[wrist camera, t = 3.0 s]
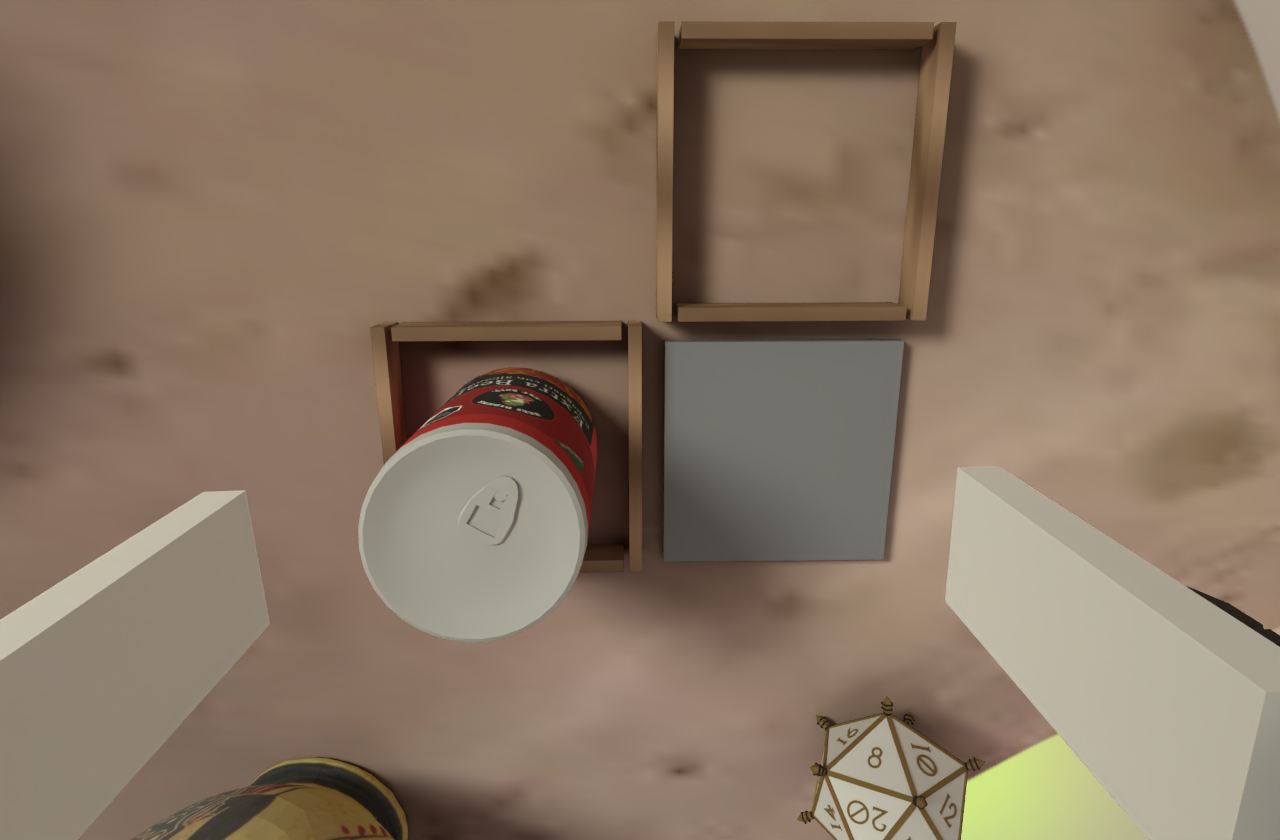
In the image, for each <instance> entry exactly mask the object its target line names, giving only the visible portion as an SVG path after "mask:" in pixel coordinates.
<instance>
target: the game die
mask: <svg viewBox="0 0 1280 840" xmlns="http://www.w3.org/2000/svg"><path fill="white" fill-rule="evenodd" d="M881 704H882V707H881V708H882V709H883V711H884V713H880V714H876V715H872V716H868V717H864V718H861V719H857V720H853V721H849V722H845V723H841V724H837V725H833V726H830V725H829V723H828V720H826V719H825V717H820V716H816V717H817V722H818V723H817V724H818V725H820V726H821V728H824V729H825V730H826V733H825V738H824V744H823V750H822V755H821V761H820V764H819V765H818V764H817V763H815V765H813V766H811V767H810V768H811V770H812V772H813V775H817V776H818V778H817V783H816V789H815V795H814V800H813V806H812V811H811V812H808V811H805V812H801V814H800V816H799V817H798V819H797V820H799V821H802V822H805V824H806V823H807V822H811V820H812V819H815V820H816V821H817V822H818V823H819V824H820V825H821V826H822V827H823V828H824V829H825V830H826V831H827V832H828V833H829V834H830V835H831V837H832V838H833V839H834V840H961V831H962V822H963V813H964V803H965V794H966V793H965V792H966V784H967V775H968V770H974V771H975V770H976V769H979V770H980V767H981V766H982V765H983V763H984V762H985V761H982V760H979V759H975V757H974V759H972V760H970V759H969V761H968V762H967V763H964V762H962V761H961V760H959V759H958V758H956V757H955V756H953V755H952V754H950V753H949V752H947V751H946V750H945V749H943V748H942V747H940V746H939V745H937V744H936V743H934V742H933V741H931V740H930V739H929V738H927V737H926V736H924V735H923V734H921V733H920V732H918V731H917V730H915V729H914V728H913V727H911V725H913V721H915V720H914V718H913V717H912V714H911V712H910V713H908V714H905V716H904V720H903V721H902V720H900V719H899V718H897V717H896V716H894V715H893V714H891V711H892V706H893V703H892V702H891V701H890V699H889V697H888V696H887V697H886V698H885V700H884V701H883V702H881Z"/></svg>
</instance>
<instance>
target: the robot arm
mask: <svg viewBox="0 0 1280 840" xmlns="http://www.w3.org/2000/svg"><path fill="white" fill-rule="evenodd" d="M945 601H946V603H947V604H948V605H949V606H950V607H951V608H952V610H953V611H954V612H955V613H956V614H957V616H958V617H959V618H960V619H961V620H962V621H963V623H964V624H965V625H966V626H967V627H968V628H969V630H970V631H971V632H972V633H973V634H974V635H975V637H976V638H977V639H978V640H979V641H980V643H981V644H982V645H983V646H984V647H985V648H986V650H987V651H988V652H989V653H990V654H991V655H992V657H993V658H994V659H995V660H996V661H997V663H998V664H999V665H1000V666H1001V667H1002V668H1003V670H1004V671H1005V672H1006V673H1007V674H1008V675H1009V677H1010V678H1011V679H1012V680H1013V681H1014V682H1015V684H1016V685H1017V686H1018V687H1019V688H1020V690H1021V691H1022V692H1023V693H1024V694H1025V695H1026V697H1027V698H1028V699H1029V700H1030V701H1031V702H1032V704H1033V705H1034V706H1035V707H1036V708H1037V709H1038V711H1039V712H1040V713H1041V714H1042V715H1043V717H1044V718H1045V719H1046V720H1047V721H1048V722H1049V724H1050V725H1051V726H1052V727H1053V728H1054V729H1055V731H1056V732H1057V733H1058V734H1059V735H1060V737H1061V738H1062V739H1063V740H1064V741H1065V742H1066V743H1067V745H1068V746H1069V747H1070V748H1071V749H1072V751H1073V752H1074V753H1075V754H1076V755H1077V756H1078V758H1079V759H1080V760H1081V761H1082V762H1083V763H1084V765H1085V766H1086V767H1087V768H1088V769H1089V771H1091V773H1092V774H1093V775H1094V776H1095V778H1096V779H1097V780H1098V781H1099V782H1100V783H1101V785H1102V786H1103V787H1104V788H1105V789H1106V790H1107V792H1108V793H1109V794H1110V795H1111V796H1112V798H1113V799H1114V800H1115V801H1116V802H1117V803H1118V805H1119V806H1120V807H1121V808H1122V809H1123V811H1124V812H1125V813H1126V814H1127V815H1128V816H1129V818H1130V819H1131V820H1132V821H1133V822H1134V823H1135V825H1136V826H1137V827H1138V828H1139V829H1140V830H1141V832H1142V833H1143V834H1144V835H1145V836H1146V838H1147V839H1148V840H1280V635H1278V634H1277V633H1275V632H1273V631H1272V630H1270V629H1264V628H1263V625H1262V624H1261V623H1259V622H1257V621H1256V620H1254V619H1253V618H1251V617H1249V616H1248V615H1246V614H1245V613H1243V612H1241V611H1240V610H1238V609H1237V608H1235V607H1233V606H1232V605H1230V604H1229V603H1226V602H1224V601H1222V600H1219V599H1217V598H1214V597H1212V596H1209V595H1207V594H1204V593H1202V592H1200V591H1197V590H1195V589H1192V588H1190V587H1187V586H1185V585H1183V584H1181V583H1180V582H1178V581H1177V580H1175V579H1173V578H1172V577H1170V576H1169V575H1167V574H1166V573H1164V572H1163V571H1161V570H1160V569H1158V568H1156V567H1155V566H1153V565H1152V564H1150V563H1149V562H1147V561H1146V560H1144V559H1142V558H1141V557H1139V556H1138V555H1136V554H1135V553H1133V552H1132V551H1130V550H1128V549H1127V548H1125V547H1124V546H1122V545H1121V544H1119V543H1118V542H1116V541H1114V540H1113V539H1111V538H1110V537H1108V536H1107V535H1105V534H1104V533H1102V532H1100V531H1099V530H1097V529H1096V528H1094V527H1093V526H1091V525H1090V524H1088V523H1086V522H1085V521H1083V520H1082V519H1080V518H1079V517H1077V516H1076V515H1074V514H1073V513H1071V512H1069V511H1068V510H1066V509H1065V508H1063V507H1062V506H1060V505H1059V504H1057V503H1055V502H1054V501H1052V500H1051V499H1049V498H1048V497H1046V496H1045V495H1043V494H1041V493H1040V492H1038V491H1037V490H1035V489H1034V488H1032V487H1031V486H1029V485H1027V484H1026V483H1024V482H1023V481H1021V480H1020V479H1018V478H1017V477H1015V476H1013V475H1012V474H1010V473H1009V472H1007V471H1006V470H1004V469H1003V468H1001V467H999V466H983V467H958V469H957V479H956V490H955V501H954V512H953V522H952V533H951V544H950V555H949V565H948V576H947V587H946V598H945ZM269 625H270V621H269V616H268V611H267V605H266V600H265V594H264V589H263V583H262V578H261V572H260V567H259V561H258V556H257V550H256V545H255V539H254V534H253V528H252V523H251V517H250V512H249V506H248V501H247V496H246V490H244V491H213V492H202V493H201V494H199V495H198V496H196V497H195V498H193V499H191V500H190V501H188V502H187V503H185V504H183V505H182V506H180V507H179V508H177V509H175V510H174V511H172V512H171V513H169V514H167V515H166V516H164V517H163V518H161V519H160V520H158V521H156V522H155V523H153V524H152V525H150V526H148V527H147V528H145V529H144V530H142V531H140V532H139V533H137V534H136V535H134V536H132V537H131V538H129V539H128V540H126V541H125V542H123V543H121V544H120V545H118V546H117V547H115V548H113V549H112V550H110V551H109V552H107V553H105V554H104V555H102V556H101V557H99V558H98V559H96V560H94V561H93V562H91V563H90V564H88V565H86V566H85V567H83V568H82V569H80V570H78V571H77V572H75V573H74V574H72V575H70V576H69V577H67V578H66V579H64V580H63V581H61V582H59V583H58V584H56V585H55V586H53V587H51V588H50V589H48V590H47V591H45V592H43V593H42V594H40V595H39V596H37V597H35V598H34V599H32V600H31V601H29V602H28V603H26V604H24V605H23V606H21V607H20V608H18V609H16V610H15V611H13V612H12V613H10V614H8V615H7V616H5V617H4V618H2V619H1V620H0V840H78V839H79V837H80V836H81V835H82V834H83V833H84V832H85V831H86V830H87V828H88V827H89V826H90V825H91V824H92V823H93V822H94V821H95V820H96V818H97V817H98V816H99V815H100V814H101V813H102V812H103V811H104V809H105V808H106V807H107V806H108V805H109V804H110V803H111V802H112V801H113V799H114V798H115V797H116V796H117V795H118V794H119V793H120V792H121V790H122V789H123V788H124V787H125V786H126V785H127V784H128V783H129V782H130V780H131V779H132V778H133V777H134V776H135V775H136V774H137V773H138V771H139V770H140V769H141V768H142V767H143V766H144V765H145V764H146V763H147V761H148V760H149V759H150V758H151V757H152V756H153V755H154V754H155V752H156V751H157V750H158V749H159V748H160V747H161V746H162V745H163V743H164V742H165V741H166V740H167V739H168V738H169V737H170V736H171V735H172V733H173V732H174V731H175V730H176V729H177V728H178V727H179V726H180V724H181V723H182V722H183V721H184V720H185V719H186V718H187V717H188V716H189V714H190V713H191V712H192V711H193V710H194V709H195V708H196V707H197V705H198V704H199V703H200V702H201V701H202V700H203V699H204V698H205V697H206V695H207V694H208V693H209V692H210V691H211V690H212V689H213V688H214V686H215V685H216V684H217V683H218V682H219V681H220V680H221V679H222V677H223V676H224V675H225V674H226V673H227V672H228V671H229V670H230V669H231V667H232V666H233V665H234V664H235V663H236V662H237V661H238V660H239V658H240V657H241V656H242V655H243V654H244V653H245V652H246V651H247V650H248V648H249V647H250V646H251V645H252V644H253V643H254V642H255V641H256V639H257V638H258V637H259V636H260V635H261V634H262V633H263V632H264V631H265V629H266V628H267V627H268V626H269Z"/></svg>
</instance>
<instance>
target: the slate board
mask: <svg viewBox="0 0 1280 840" xmlns="http://www.w3.org/2000/svg"><path fill="white" fill-rule="evenodd" d="M903 349H904V341H903V340H901V339H809V340H665V354H664V499H663V560H664V562H701V561H792V560H883V558H884V548H885V537H886V527H887V517H888V506H889V496H890V485H891V475H892V464H893V454H894V443H895V433H896V422H897V412H898V401H899V391H900V380H901V370H902V360H903Z"/></svg>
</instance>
